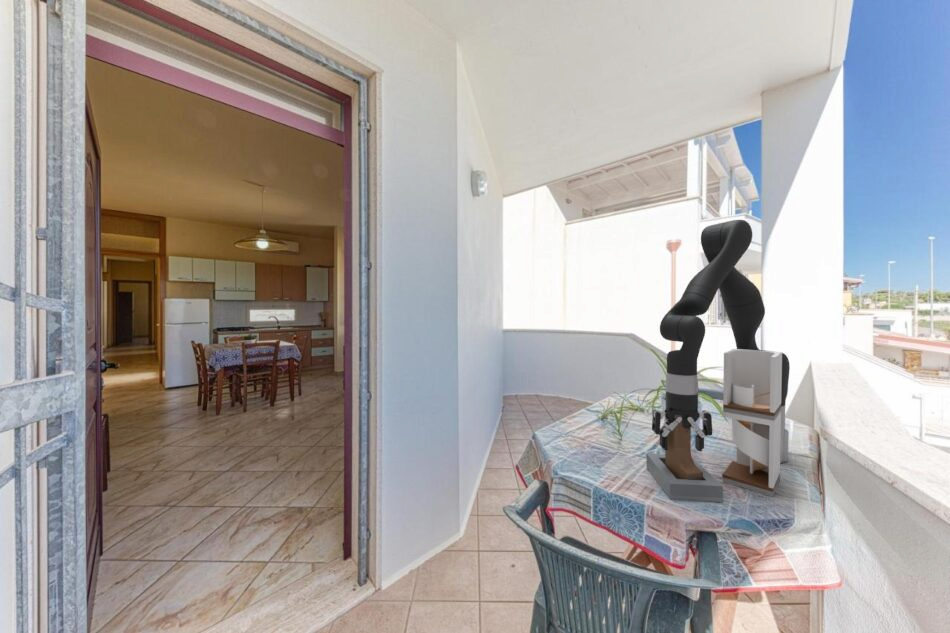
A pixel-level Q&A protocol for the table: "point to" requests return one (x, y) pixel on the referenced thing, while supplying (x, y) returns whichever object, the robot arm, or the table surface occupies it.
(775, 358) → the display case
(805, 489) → the table surface
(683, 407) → the robot arm
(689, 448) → the wooden block
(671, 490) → the grey tray
